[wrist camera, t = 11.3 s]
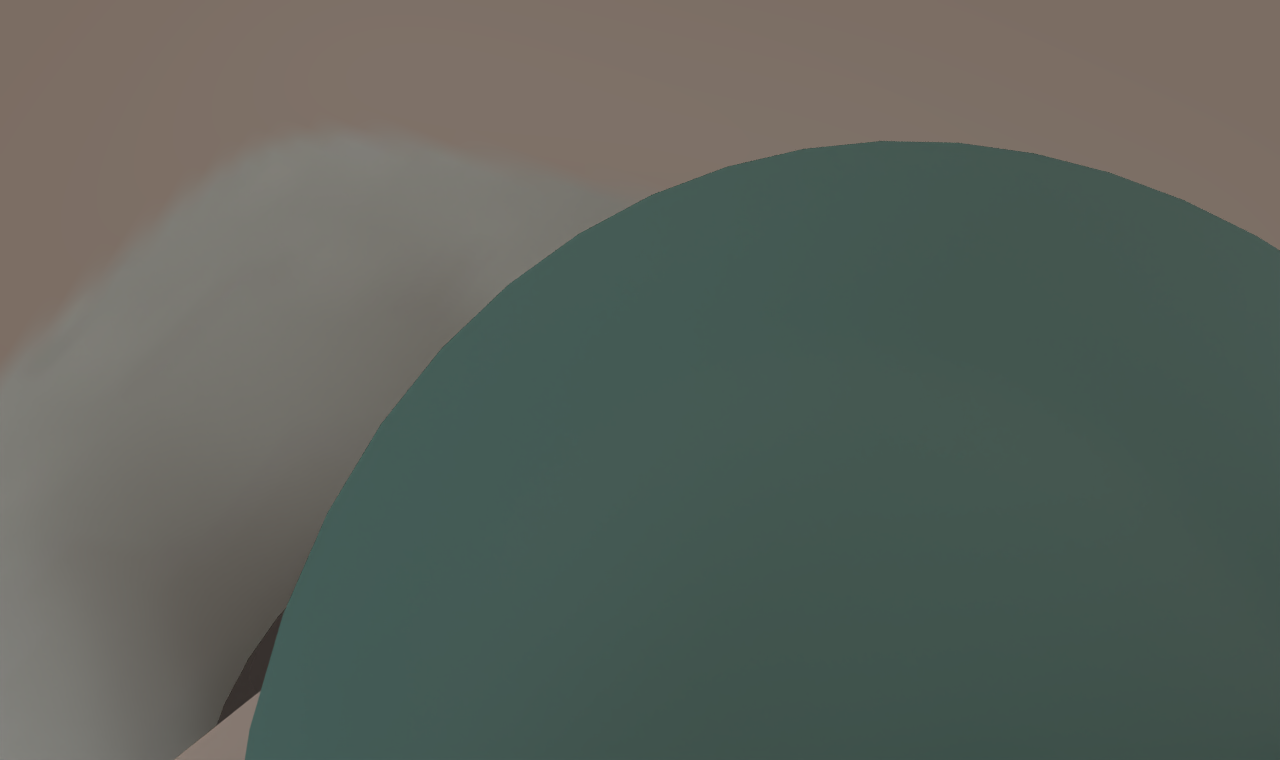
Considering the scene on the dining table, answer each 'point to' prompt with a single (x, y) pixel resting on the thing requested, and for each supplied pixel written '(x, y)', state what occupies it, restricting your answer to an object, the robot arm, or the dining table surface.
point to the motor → (237, 708)
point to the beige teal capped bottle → (822, 487)
